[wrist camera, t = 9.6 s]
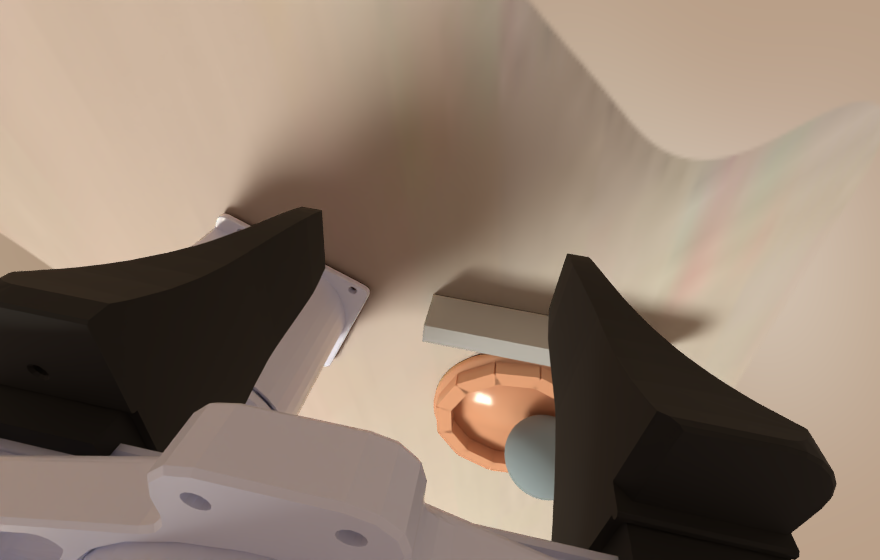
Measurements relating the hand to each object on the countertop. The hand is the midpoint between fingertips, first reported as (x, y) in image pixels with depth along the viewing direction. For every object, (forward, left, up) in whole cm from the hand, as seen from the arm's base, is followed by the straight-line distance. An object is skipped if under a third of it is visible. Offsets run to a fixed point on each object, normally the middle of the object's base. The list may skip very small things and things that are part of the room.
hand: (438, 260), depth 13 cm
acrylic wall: (+8, -6, -9) cm, 14 cm away
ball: (+14, -13, -6) cm, 20 cm away
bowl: (+12, -14, -9) cm, 20 cm away
